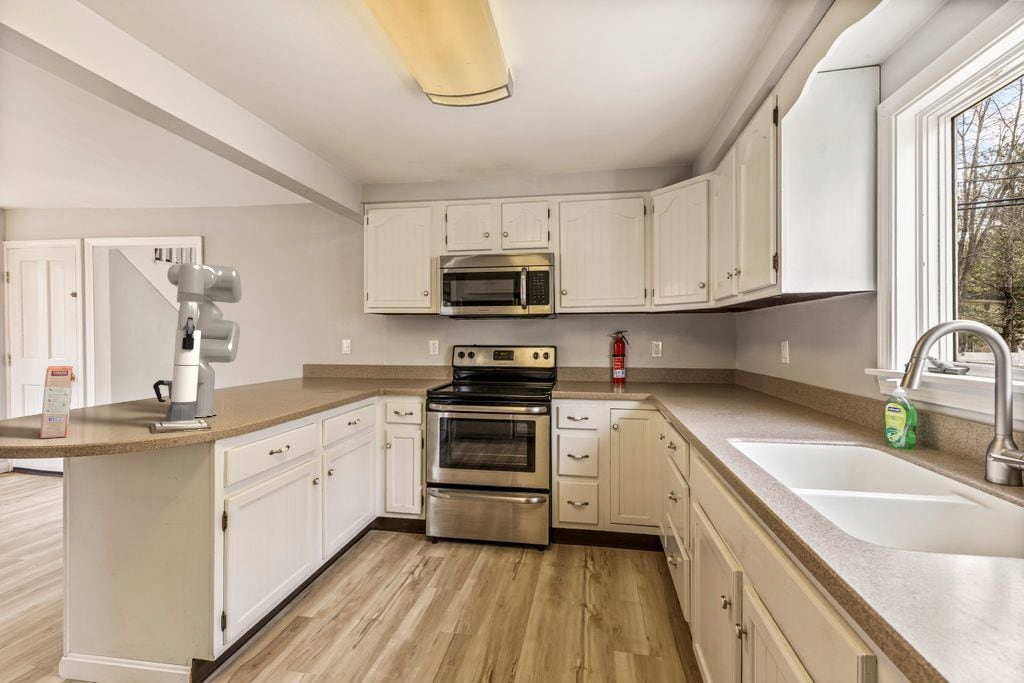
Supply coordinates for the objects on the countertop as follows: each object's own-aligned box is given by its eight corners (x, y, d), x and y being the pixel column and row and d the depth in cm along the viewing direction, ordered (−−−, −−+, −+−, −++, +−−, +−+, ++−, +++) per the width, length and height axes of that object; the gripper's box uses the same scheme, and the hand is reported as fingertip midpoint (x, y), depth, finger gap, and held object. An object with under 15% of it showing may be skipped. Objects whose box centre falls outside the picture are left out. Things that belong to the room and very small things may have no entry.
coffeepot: (200, 418, 177) (203, 373, 178) (202, 422, 170) (205, 375, 170) (150, 420, 167) (153, 372, 168) (150, 424, 160) (154, 374, 161)
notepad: (150, 426, 157) (150, 421, 157) (205, 423, 167) (205, 418, 167) (152, 433, 146) (152, 427, 146) (210, 430, 157) (211, 424, 157)
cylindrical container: (170, 402, 152) (175, 329, 153) (171, 399, 158) (176, 329, 158) (196, 401, 156) (201, 330, 157) (195, 399, 162) (200, 330, 163)
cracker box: (68, 437, 134) (73, 368, 135) (39, 439, 130) (44, 368, 131) (68, 430, 145) (73, 365, 145) (41, 431, 140) (47, 365, 141)
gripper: (174, 299, 162) (171, 348, 161) (179, 296, 149) (175, 349, 148) (199, 301, 167) (196, 349, 166) (206, 298, 154) (202, 350, 153)
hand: (186, 348), depth 157 cm, fingers closed on cylindrical container, 7 cm apart
